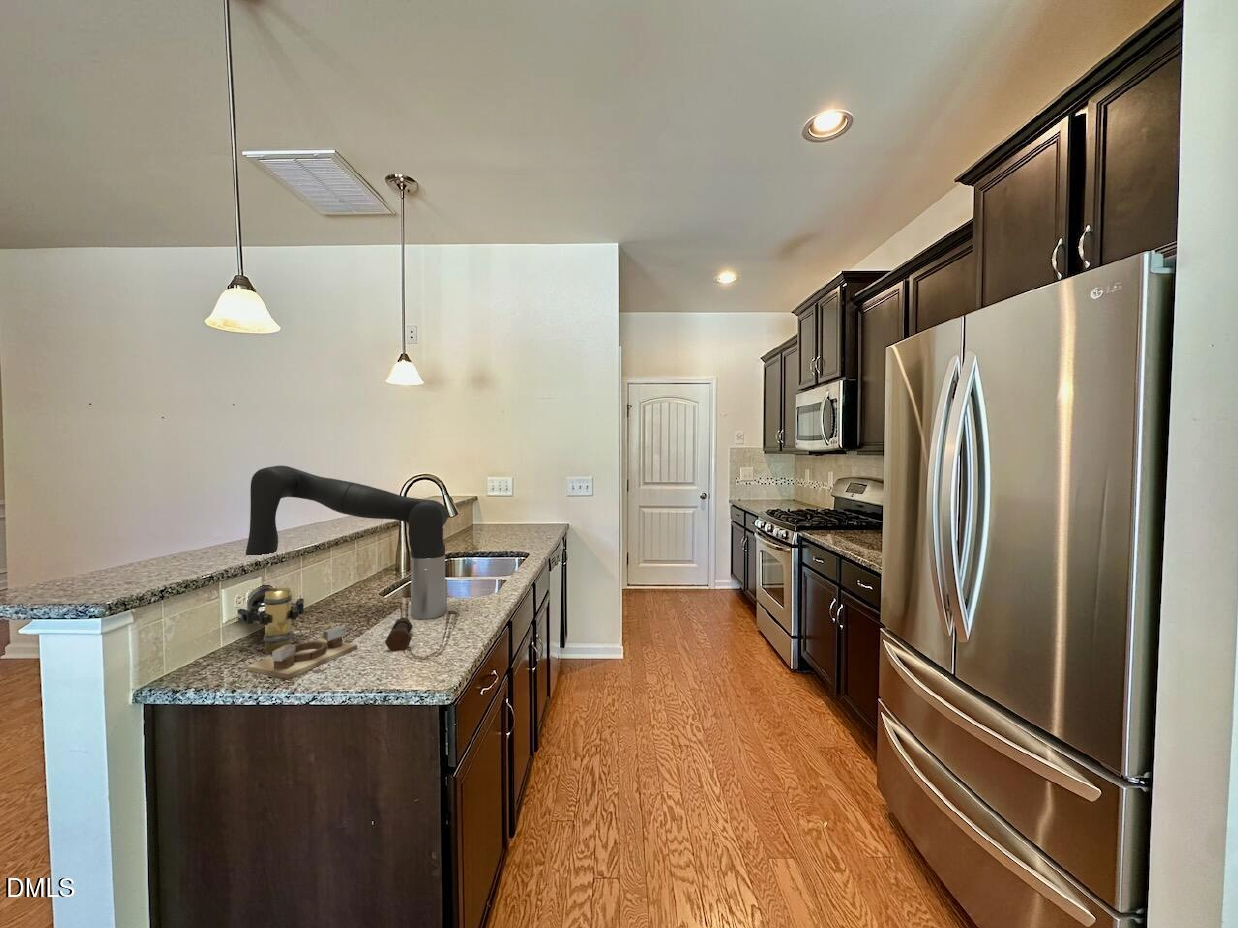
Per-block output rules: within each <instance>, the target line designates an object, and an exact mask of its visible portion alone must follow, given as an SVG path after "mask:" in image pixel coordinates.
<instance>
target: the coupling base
mask: <svg viewBox="0 0 1238 928" xmlns="http://www.w3.org/2000/svg"><path fill="white" fill-rule="evenodd" d="M357 649H358V644H355V643H351V642H343V637H340V638H336V639H333V640H330V641H326V640H324V638H322V637H321V638H317V639H314V640H312V641H307V642H300V643H296V644H295V654H294V655H292V656H290V657H288V658H287V659H285V660H283V661H272V656H270V657H268V658H267V657H266V658H264V659H262V660H258V661H257V662H254V663H251V664H248V665H247V666H246V667H247V669H246V671H247V670H248V672H254V673H256V674H257V673H258V674H261V675H267V676H271V677H276V678H280V679H284V678H285V680H289V679H292V678H294V677H297V676H299V675H301V674H303V673H305V672H308V671H310V670H312V669H315V668H317V667H319V666H321V665H324V664H326V663H328V662H330V661H332V660H335V659H337V658H340V657H342V656H344V655H346V654H349V653H351V652H354V651H356V650H357Z"/></svg>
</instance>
